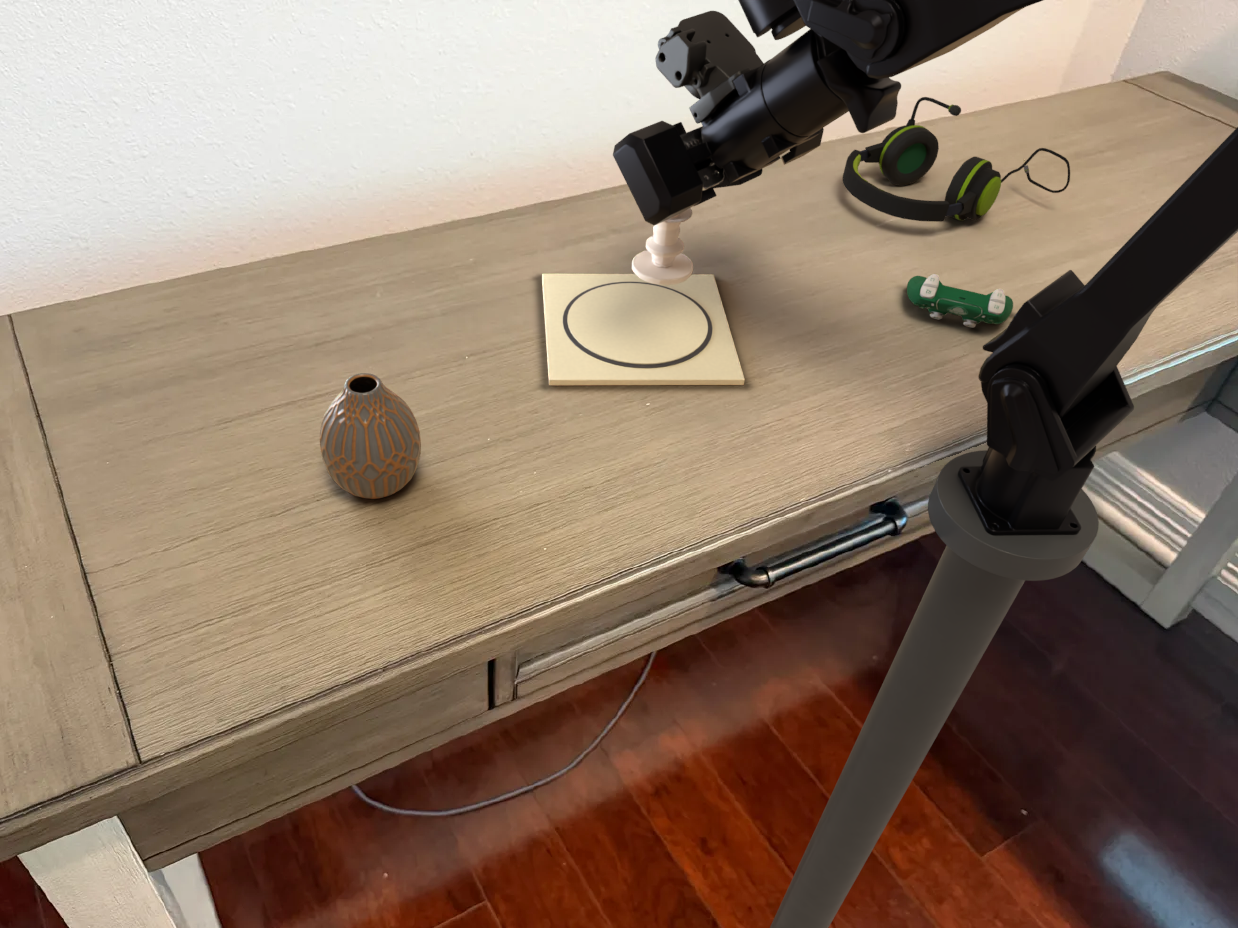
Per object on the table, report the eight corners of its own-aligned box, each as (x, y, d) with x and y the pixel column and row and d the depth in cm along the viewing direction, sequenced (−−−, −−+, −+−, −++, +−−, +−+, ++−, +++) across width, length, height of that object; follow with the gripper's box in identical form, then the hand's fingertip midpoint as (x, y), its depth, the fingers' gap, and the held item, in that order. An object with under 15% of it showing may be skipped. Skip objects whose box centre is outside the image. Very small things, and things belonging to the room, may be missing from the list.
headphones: (1095, 125, 96) (953, 168, 88) (1056, 215, 103) (921, 262, 95) (970, 68, 105) (832, 102, 98) (942, 154, 112) (811, 192, 104)
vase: (310, 472, 71) (291, 375, 65) (392, 436, 74) (382, 340, 68) (356, 527, 67) (341, 430, 61) (442, 487, 70) (435, 391, 64)
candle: (705, 273, 83) (722, 155, 76) (658, 292, 81) (671, 172, 74) (665, 247, 86) (678, 131, 79) (619, 264, 84) (628, 146, 77)
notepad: (743, 385, 80) (745, 377, 80) (549, 385, 79) (549, 377, 79) (712, 279, 92) (714, 272, 91) (541, 279, 91) (542, 271, 90)
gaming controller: (897, 316, 91) (903, 301, 86) (909, 277, 91) (916, 259, 85) (999, 341, 89) (1012, 327, 83) (1012, 301, 89) (1026, 284, 83)
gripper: (823, -42, 70) (689, 71, 83) (644, 13, 61) (525, 130, 74) (889, 103, 71) (746, 191, 85) (724, 179, 62) (593, 264, 76)
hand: (657, 191), depth 80 cm, fingers closed on candle
